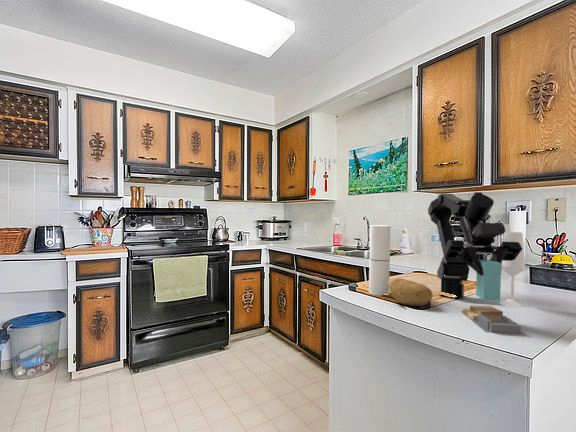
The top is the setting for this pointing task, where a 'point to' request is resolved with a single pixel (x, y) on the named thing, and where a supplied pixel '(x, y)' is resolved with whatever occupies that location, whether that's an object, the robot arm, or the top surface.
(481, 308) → the offcut stack
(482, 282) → the teal slat
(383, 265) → the cylindrical container
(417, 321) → the top surface
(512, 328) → the slotted grey block
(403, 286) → the potato
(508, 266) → the champagne flute
